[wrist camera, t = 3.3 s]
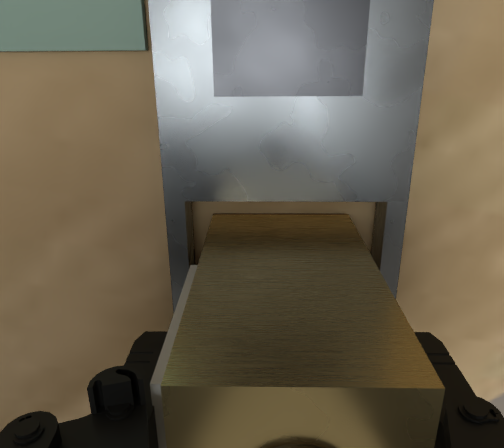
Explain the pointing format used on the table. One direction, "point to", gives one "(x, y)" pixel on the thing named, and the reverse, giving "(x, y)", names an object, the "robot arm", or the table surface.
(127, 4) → the translucent green panel
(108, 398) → the robot arm
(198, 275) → the wooden speaker box
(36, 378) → the table surface
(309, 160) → the rail
